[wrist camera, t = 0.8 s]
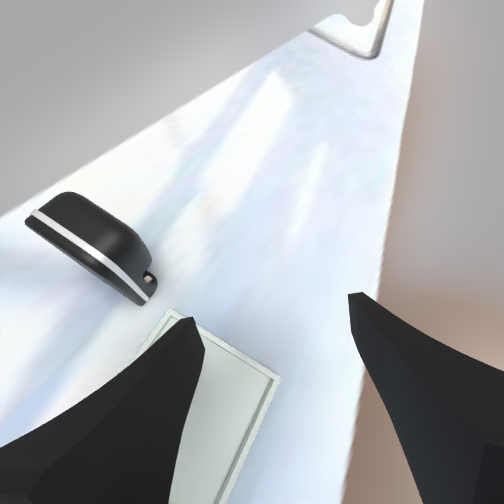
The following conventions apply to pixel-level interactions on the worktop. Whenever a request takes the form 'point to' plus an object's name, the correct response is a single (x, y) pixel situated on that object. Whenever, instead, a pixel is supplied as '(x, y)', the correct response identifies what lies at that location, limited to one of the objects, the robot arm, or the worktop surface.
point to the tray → (217, 418)
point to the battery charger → (97, 243)
